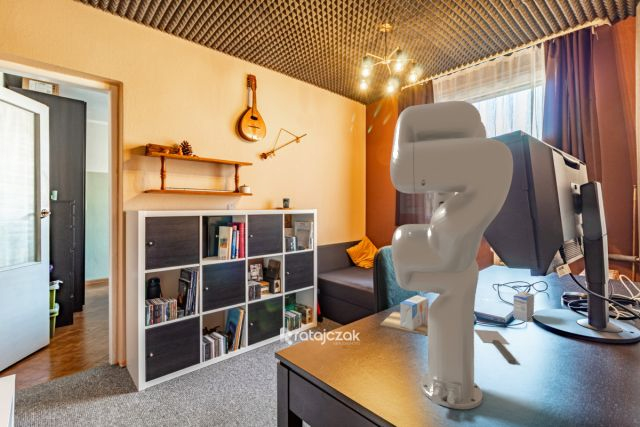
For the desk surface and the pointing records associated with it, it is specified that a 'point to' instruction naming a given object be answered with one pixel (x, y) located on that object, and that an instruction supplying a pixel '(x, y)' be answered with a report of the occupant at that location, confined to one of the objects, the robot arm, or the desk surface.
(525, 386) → the desk surface
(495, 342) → the steel turner
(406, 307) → the ink box
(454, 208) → the robot arm
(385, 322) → the cork mat
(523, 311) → the medicine box
